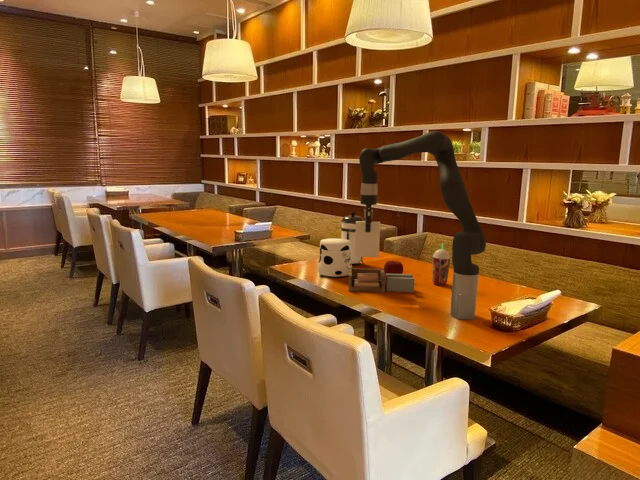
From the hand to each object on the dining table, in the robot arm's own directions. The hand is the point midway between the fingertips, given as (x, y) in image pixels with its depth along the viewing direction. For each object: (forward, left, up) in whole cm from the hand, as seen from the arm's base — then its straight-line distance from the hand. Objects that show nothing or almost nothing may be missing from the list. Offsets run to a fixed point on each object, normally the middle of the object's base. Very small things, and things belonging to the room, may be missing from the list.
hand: (367, 231), depth 206 cm
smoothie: (+9, -36, -26) cm, 46 cm away
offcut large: (-6, 0, -25) cm, 26 cm away
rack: (-4, 0, -26) cm, 27 cm away
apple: (+13, -14, -26) cm, 33 cm away
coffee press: (+46, +7, -26) cm, 54 cm away
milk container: (+18, +15, -26) cm, 35 cm away
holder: (-5, -15, -26) cm, 31 cm away
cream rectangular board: (0, 0, -12) cm, 12 cm away
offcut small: (-6, 0, -22) cm, 23 cm away
